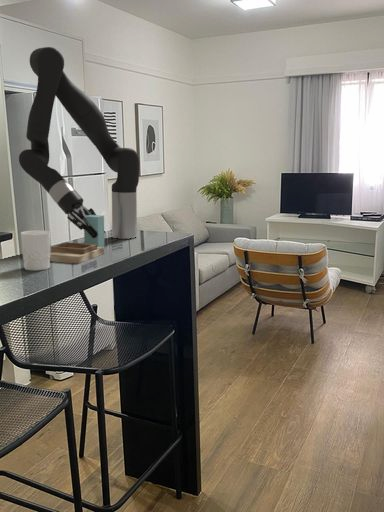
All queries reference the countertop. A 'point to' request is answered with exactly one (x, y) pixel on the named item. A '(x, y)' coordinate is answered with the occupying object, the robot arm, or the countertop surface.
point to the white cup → (36, 249)
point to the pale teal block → (98, 225)
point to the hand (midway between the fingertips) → (99, 235)
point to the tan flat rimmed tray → (74, 252)
